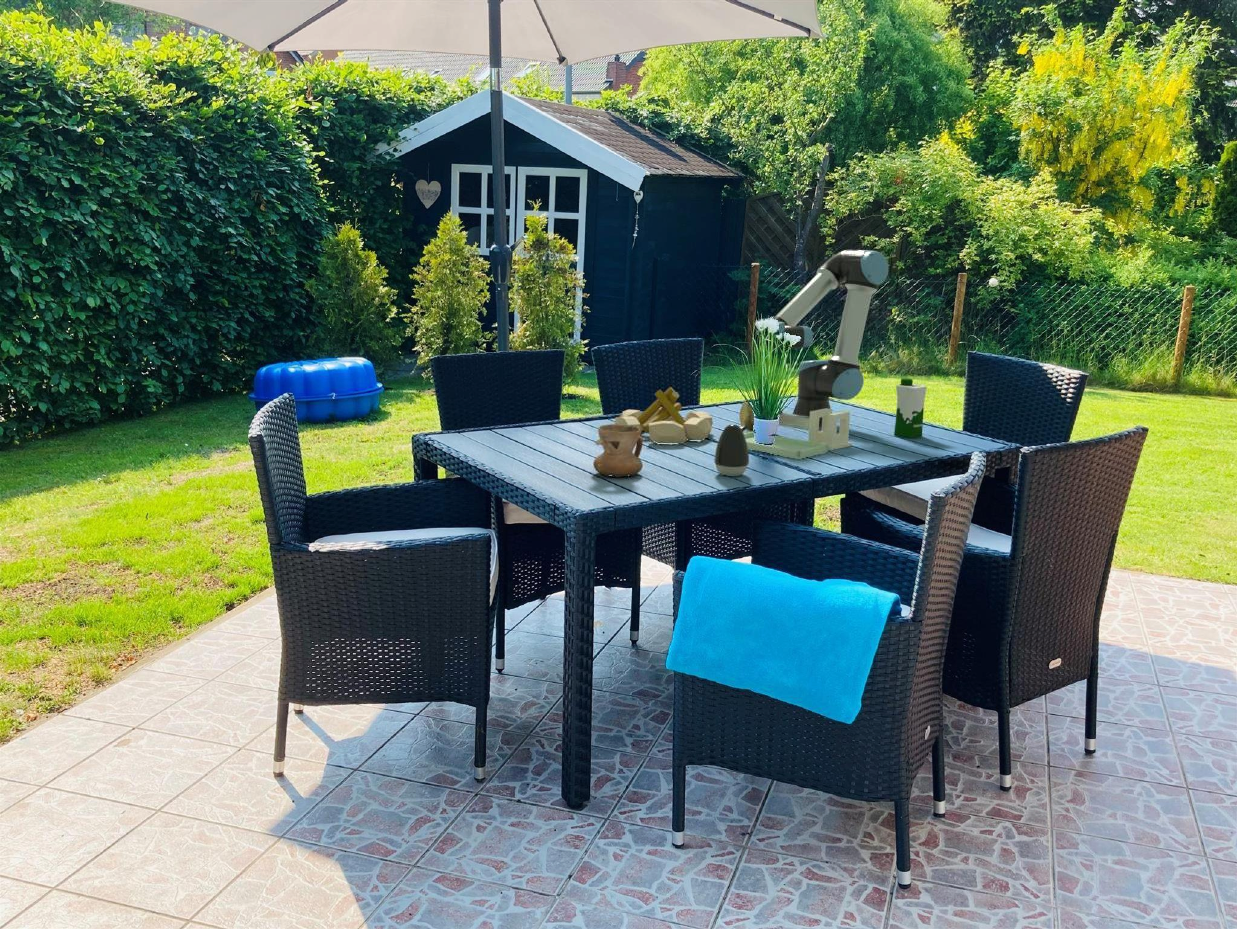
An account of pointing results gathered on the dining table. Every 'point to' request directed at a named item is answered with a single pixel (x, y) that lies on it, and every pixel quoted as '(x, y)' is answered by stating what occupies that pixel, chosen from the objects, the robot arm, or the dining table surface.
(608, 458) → the ceramic jug
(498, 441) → the dining table surface
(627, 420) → the campfire
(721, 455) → the pump dispenser
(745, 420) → the gold disc post
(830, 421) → the double loop bracket
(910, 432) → the milk carton
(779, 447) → the tray
